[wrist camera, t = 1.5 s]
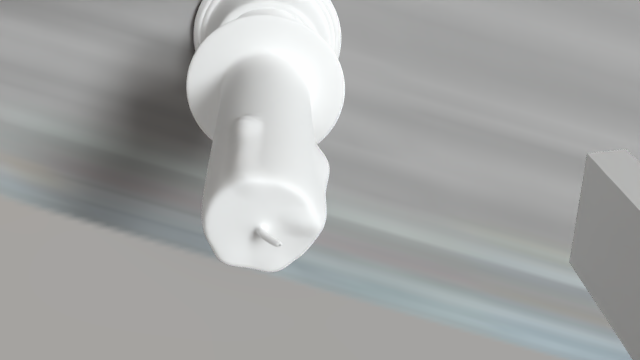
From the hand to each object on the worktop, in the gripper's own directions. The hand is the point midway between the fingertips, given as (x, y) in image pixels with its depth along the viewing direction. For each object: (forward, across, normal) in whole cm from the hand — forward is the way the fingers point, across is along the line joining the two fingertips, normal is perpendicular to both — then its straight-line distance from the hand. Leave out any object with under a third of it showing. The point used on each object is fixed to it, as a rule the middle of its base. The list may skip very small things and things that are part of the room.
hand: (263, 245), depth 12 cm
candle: (+12, 0, +1) cm, 12 cm away
